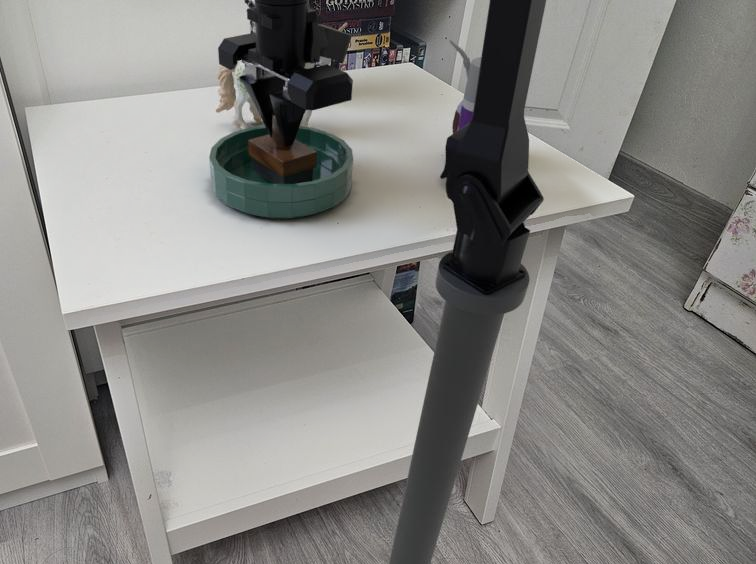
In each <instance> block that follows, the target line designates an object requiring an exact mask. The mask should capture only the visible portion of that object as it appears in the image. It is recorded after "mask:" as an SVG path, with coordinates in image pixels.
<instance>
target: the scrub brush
mask: <svg viewBox="0 0 756 564" xmlns="http://www.w3.org/2000/svg"><path fill="white" fill-rule="evenodd" d="M248 144H249V156H251V157H252V160H253V171H255V172H256V173H258V174H259V175H261V176H262V177H264V178H265V179H267V180H268V181H270V182H271V183H272V184H296V183H303V182H310V181H313V168H315V167H317V151H315V150H313V149H311V148H310V147H308V146H306V145H305V144H303V143H301V142H299V141H298V140H296V139H295V140H294V143H293V145H292V146H289V147H285V146H284V144H283V142H282V139H281V136H280V132H279V128H278V124H277V121H276V117H275V113H274V112H272V138H271V137H270V135H269V134H268V135H265V136H261V137H258V138H254V139H250V140H248Z"/></svg>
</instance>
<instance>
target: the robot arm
mask: <svg viewBox="0 0 756 564" xmlns="http://www.w3.org/2000/svg"><path fill="white" fill-rule="evenodd" d="M309 2H310V1H309V0H255V8H249V7H248V8H246V10H247V12H246V19H247V20H248V21H250V20H251V21H253V22H255V33H250V32H249V33H245V34H240V35H236V36H229V37H225V38H223V40H222V41H221V42H220V44H219V46H218V47H217V52H218V53H217V54H218V65H220V66H224V67H226V68H227V69H229V70H232V69H235V67H236V66H237V64H238V63H239V62H240V61H241V62H242V63H244V64H245V75H243V76H240V77H239V79H240V82H242V83H243V84H244V86H245V88H246V90H247V92H248V93H249V95H250V97H251V99H252V101H253V103H254V105H255V106H256V108H257V110H258V112H259V114H260V116H261V121H262V122H263V124H264V125H263V126H265V127H266V129H267V131H268V133H269V135H270V137H271V138H272V112H274V113H275V117H276V121H277V124H278V128H279V132H280V136H281V139H282V142H283V144H284V146H285V147H289V146H292V145H293V143H294V140H295V138H296V135H297V132H298V129H299V127H300V124H301V121H302V119H303V116H304V114H305V111H306V110H312V111H316V110H320V109H324V108H327V107H331V106H332V107H333V106H334V105H339V104H343V103H346V102H350V101H352V98H353V85H354V80H353V78H352V77H351V75H350V74H348V72H346V71H345V70H341V69H339V68H336V67H334V66H333V65H330V64H326V65H322V66H321V65H318V66H314V67H313V68H309V69H305V68H304V67H305V63H311V64H312V63H315V64H316V63H320V56H321V57H325V58H329V59H330V60H334V61H336V63H338V64H342V65H344V62H345V60H346V55H347V52H348V49H349V46H350V43H351V39H352V37H353V35H352V34H349V33H348V32H345V31H343V30H342V31H339V30H338V29H336V28H334V27H332V26H328V25H326V24H323V23H322V15H321V13H317V10H315V9H313V8H309V4H310V3H309ZM546 4H547V0H489V4H488V11H487V17H486V24H485V30H484V37H483V45H482V50H481V56H480V57H481V63H480V69H479V76H478V83H477V89H476V96H475V103H474V109H473V115H472V118H471V121H470V123H468V124H467V125H465V126H464V127H462V128H461V129H459V130H458V131H456V132H455V133H453V132H452V134H451V135H449V136H448V137H447V138H446V142H445V147H444V148H445V164H444V168H443V170H442V172H441V174H440V176H439V179H441V180H444V179H445V193H446V197H447V199H448V200H451V202H452V205H453V212H454V218H455V226H456V233H455V236H454V242H453V247H452V250H451V252H452V257H454V259H451V260H449V261H447V262H445V263H444V264H443V269H445V270H446V271H448V272H449V273H451V274H452V275H454V276H456V277H457V278H459V279H460V280H462V281H463V282H465V283H466V284H468V285H469V286H471V287H473V288H474V289H476V290H477V291H479V292H480V293H482V294H484V295H490V294H492V293H494V292H496V291H498V290H500V289H502V288H504V287H506V286H508V285H510V284H512V283H514V282H516V281H518V280H520V279H522V278H524V277H525V275H526V271H525V270H523V269H521V268H519V267H520V264H522V260H523V256H524V254H525V249H526V247H527V246H526V245H527V243H528V240H529V237H530V233H531V230H530V229H529V228H527V227H526V225H525V223H524V222H525V221H526V220H527V219H528V218H529V217H530V216H533V214H534V213H536V211H537V209H539V207H540V206H541V205H542V204H543V202H544V200H545V197H544V195H543V194H542V192H541V191H540V189H539V187H538V186H537V183H536V182H535V180H534V179H533V177H532V175H531V173H530V172H529V159H530V158H529V157H530V136H529V133H528V128H527V124H526V120H525V108H526V103H527V99H528V93H529V89H530V85H531V84H530V83H531V78H532V74H533V69H534V64H535V59H536V53H537V48H538V45H539V39H540V34H541V29H542V24H543V20H544V13H545V9H546Z"/></svg>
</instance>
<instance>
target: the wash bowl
mask: <svg viewBox="0 0 756 564" xmlns="http://www.w3.org/2000/svg"><path fill="white" fill-rule="evenodd" d="M268 134H269V133H268V131H267V129H266V127H265V125H259V126H250V128H247V129H243V130H242V129H239V130H236V131H233V132H231V133H229V134H227V135H225V136H223V137H221V138H220V139H218V141H216V142H215V144H213V146H212V147H211V149H210V152H209V156H208V161H209V162H208V163H209V173H210V187H211V189H212V190H213V191H212V192H213V193H214V195H215V198H217V199H218V200H220V201H221V202H222V203H223V204H225V205H226V206H227V207H230V208H232V209H235V210H237V211H240V212H242V213H245V214H248V215H252V216H256V217H261V218H268V219H293V218H294V219H295V218H296V219H297V218H302V217H307V216H314V215H315V214H319V213H321V212H324V211H326V210H329V209H332V208H334V207H336V206H337V205H338V204H340V203H342V202H343V201H344V200H346V198H347V197H348V195H349V193H350V192H351V190H352V184H353V182H352V181H353V170H354V154H353V149H352V147H350V145H349V144H348V143H347V142H346V141H345V140H344V139H342V138H340V137H339V136H337V135H335V134H333V133H331V132H329V131H325V130H321V129H319V128H315V127H311V126H307V127H304V126H300V127H299V129H298V132H297V135H296V138H295V139H296V140H298V141H299V142H301V143H303V144H305V145H306V146H308V147H310V148H311V149H313V150H315V151H317V167H315V168H313V181H310V182H303V183H296V184H272V183H271V182H270V181H268V180H267V179H265V178H264V177H262V176H261V175H259V174H258V173H256V172H255V171H253V160H252V157H251V156H249V144H248V140H250V139H254V138H258V137H261V136H265V135H268Z"/></svg>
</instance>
